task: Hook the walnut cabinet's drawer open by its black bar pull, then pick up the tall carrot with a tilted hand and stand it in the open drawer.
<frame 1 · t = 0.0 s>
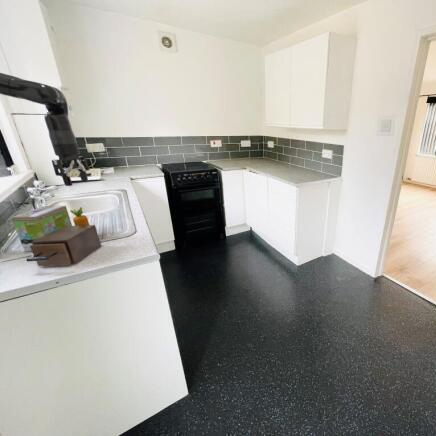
hand: (77, 183, 101), 25 cm above the countertop, tool pointing down, fingers open, 8 cm apart
cabinet: (73, 255, 95), on the countertop
carrot: (87, 240, 108), on the countertop
tea box: (52, 243, 106), on the countertop
drawer: (59, 249, 89), point 5 cm above the countertop, slide at 0.5 cm
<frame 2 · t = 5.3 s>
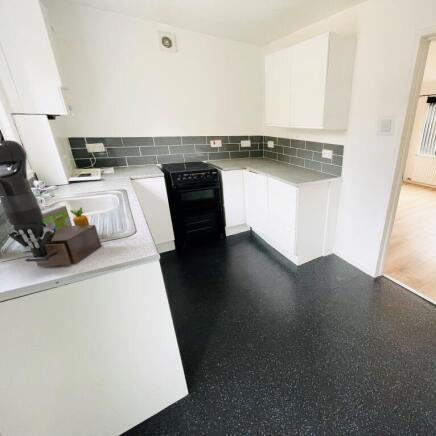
hand: (42, 256, 82), 6 cm above the countertop, tool pointing down, fingers closed
drawer: (59, 249, 89), point 5 cm above the countertop, slide at 0.7 cm, touching gripper
everything else where it was.
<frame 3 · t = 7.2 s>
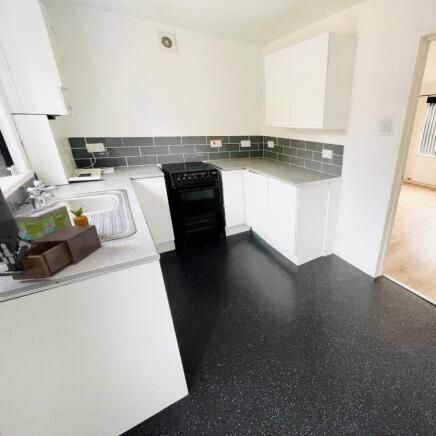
hand: (19, 272, 75), 5 cm above the countertop, tool pointing down, fingers closed
drawer: (38, 261, 81), point 5 cm above the countertop, slide at 9.2 cm, touching gripper
everything else where it was.
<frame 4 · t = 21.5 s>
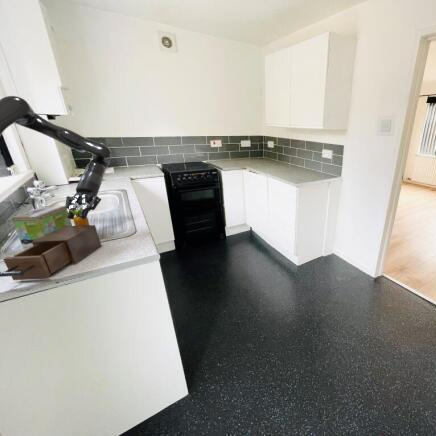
hand: (75, 218, 102), 11 cm above the countertop, tool tilted 45°, fingers closed on carrot, 4 cm apart
carrot: (87, 240, 108), on the countertop, touching gripper
drawer: (38, 262, 81), point 5 cm above the countertop, slide at 9.3 cm
everything else where it was.
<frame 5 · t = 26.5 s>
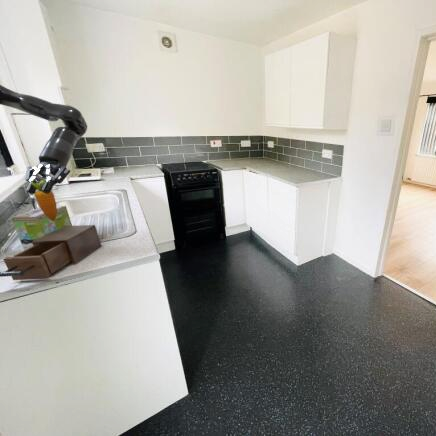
hand: (37, 192, 84), 26 cm above the countertop, tool tilted 45°, fingers closed on carrot, 4 cm apart
carrot: (53, 221, 89), point 15 cm above the countertop, touching gripper
everything else where it was.
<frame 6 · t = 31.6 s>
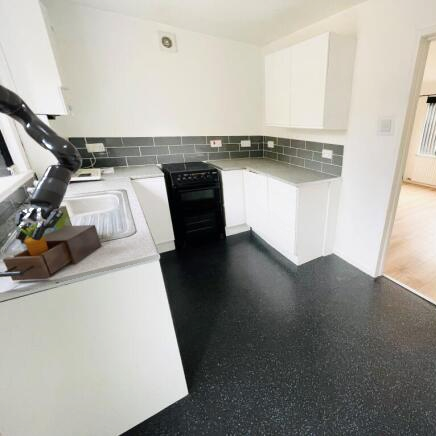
hand: (27, 239, 78), 13 cm above the countertop, tool tilted 45°, fingers closed on carrot, 4 cm apart
carrot: (45, 267, 83), point 2 cm above the countertop, touching drawer, gripper
drawer: (37, 262, 81), point 5 cm above the countertop, slide at 9.5 cm, touching carrot
everything else where it was.
when the fingers open (13 cm above the countertop, at t = 31.7 s): carrot stays where it is, resting on drawer.
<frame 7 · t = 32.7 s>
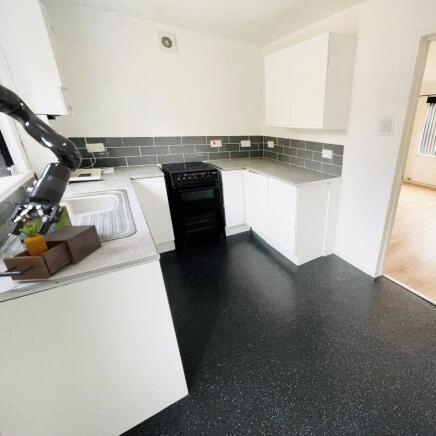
hand: (27, 234, 78), 14 cm above the countertop, tool tilted 45°, fingers open, 8 cm apart
carrot: (45, 267, 83), point 2 cm above the countertop, touching drawer
everything else where it was.
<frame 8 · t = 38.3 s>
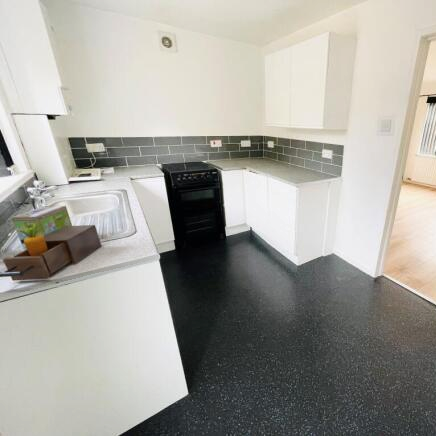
nothing on the countertop moved.
at the end: drawer slide at 9.5 cm; carrot inside the target area in the drawer (0.2 cm from its centre), point 1.8 cm above the cabinet's base; carrot tilted 0° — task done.
